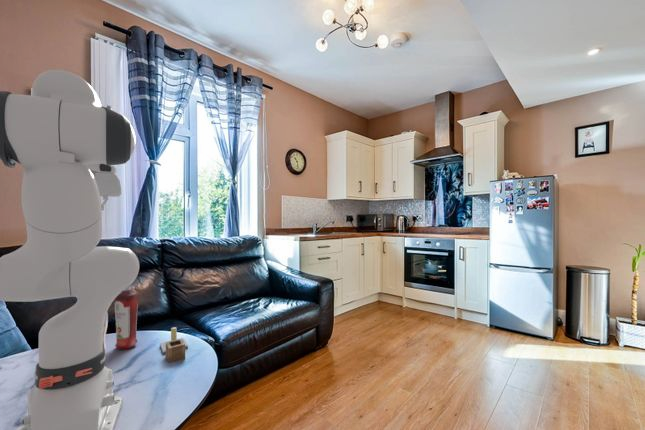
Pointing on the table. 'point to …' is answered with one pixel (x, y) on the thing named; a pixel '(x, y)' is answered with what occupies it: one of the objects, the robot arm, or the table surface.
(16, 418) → the table surface
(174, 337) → the post stand
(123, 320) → the liquor
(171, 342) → the collar
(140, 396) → the table surface
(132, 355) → the table surface
